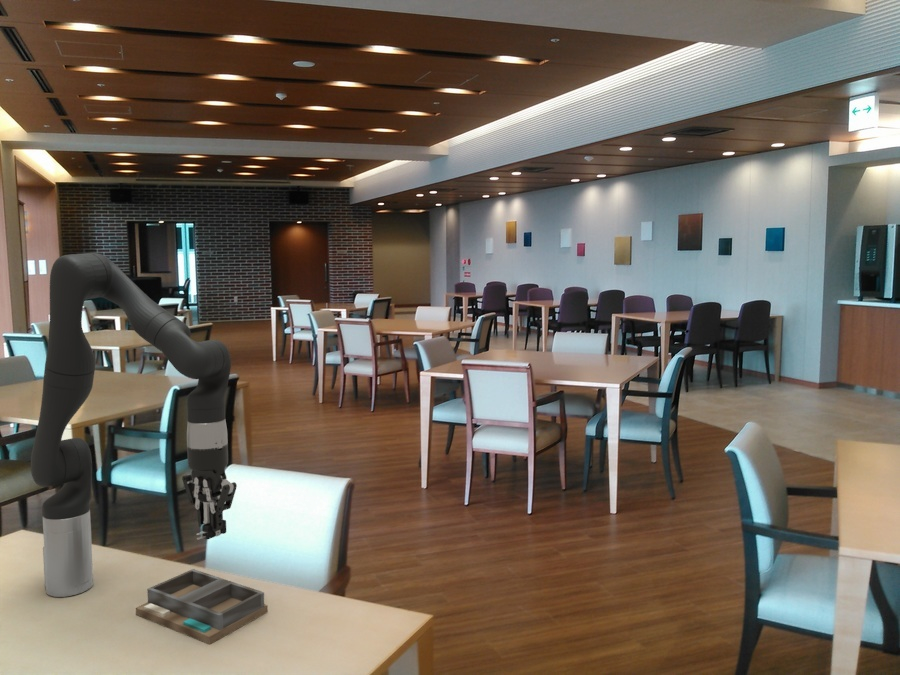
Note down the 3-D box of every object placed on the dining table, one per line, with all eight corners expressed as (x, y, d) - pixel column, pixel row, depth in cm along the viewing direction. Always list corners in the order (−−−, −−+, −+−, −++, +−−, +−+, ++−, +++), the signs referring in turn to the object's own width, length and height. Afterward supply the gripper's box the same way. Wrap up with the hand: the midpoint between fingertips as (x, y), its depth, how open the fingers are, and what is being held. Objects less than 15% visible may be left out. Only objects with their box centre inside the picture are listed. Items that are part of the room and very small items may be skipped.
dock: (135, 614, 148) (135, 593, 147) (195, 587, 160) (195, 567, 160) (209, 644, 136) (208, 621, 136) (267, 612, 149) (267, 591, 149)
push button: (206, 544, 138) (205, 493, 137) (187, 539, 141) (185, 489, 140) (232, 533, 144) (231, 484, 143) (214, 528, 147) (212, 480, 146)
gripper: (168, 442, 142) (171, 527, 143) (216, 451, 134) (219, 541, 136) (199, 434, 148) (202, 516, 149) (247, 443, 140) (250, 529, 142)
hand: (210, 528), depth 143 cm, fingers closed on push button, 3 cm apart
